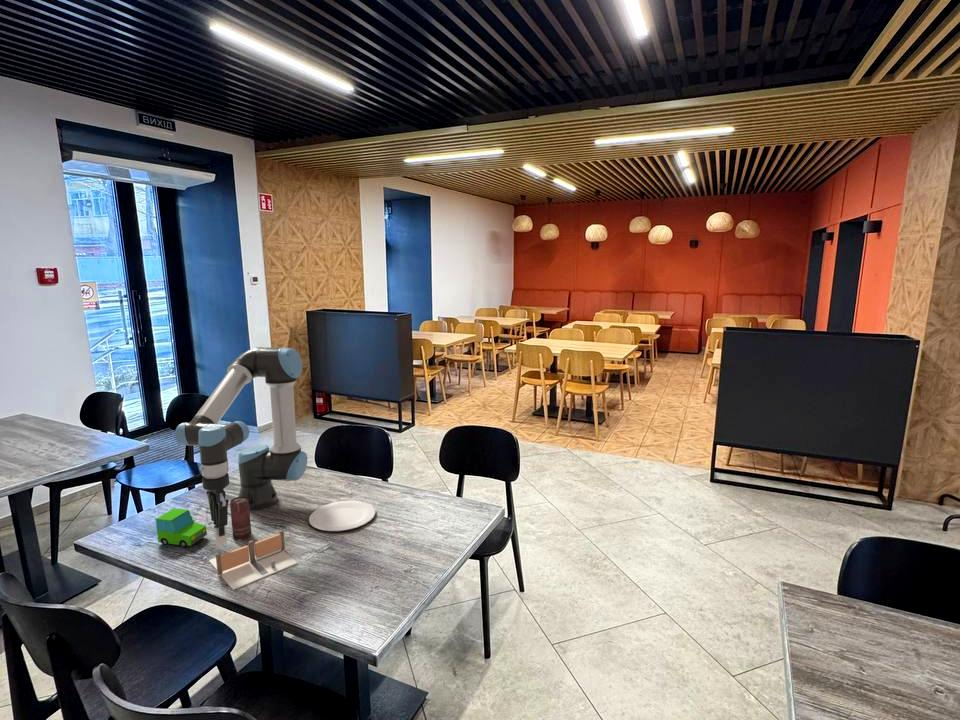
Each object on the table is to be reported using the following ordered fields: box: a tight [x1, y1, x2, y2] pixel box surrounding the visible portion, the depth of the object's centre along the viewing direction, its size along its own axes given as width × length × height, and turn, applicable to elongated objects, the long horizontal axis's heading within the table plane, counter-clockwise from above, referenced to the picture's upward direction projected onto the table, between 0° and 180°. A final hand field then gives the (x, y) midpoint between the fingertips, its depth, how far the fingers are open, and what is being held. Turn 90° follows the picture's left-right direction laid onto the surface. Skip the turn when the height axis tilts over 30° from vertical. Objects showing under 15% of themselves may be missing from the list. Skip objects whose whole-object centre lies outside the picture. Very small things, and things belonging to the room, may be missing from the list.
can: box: [229, 497, 252, 541], centre depth 183 cm, size 6×6×14 cm
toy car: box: [155, 507, 208, 549], centre depth 180 cm, size 10×13×10 cm
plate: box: [308, 500, 376, 533], centre depth 198 cm, size 25×25×2 cm
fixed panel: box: [248, 529, 286, 563], centre depth 171 cm, size 12×2×7 cm, turn 135°
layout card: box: [208, 542, 298, 591], centre depth 168 cm, size 20×22×2 cm
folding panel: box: [215, 545, 249, 576], centre depth 163 cm, size 10×1×7 cm, turn 135°
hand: (221, 543), depth 166 cm, fingers closed
